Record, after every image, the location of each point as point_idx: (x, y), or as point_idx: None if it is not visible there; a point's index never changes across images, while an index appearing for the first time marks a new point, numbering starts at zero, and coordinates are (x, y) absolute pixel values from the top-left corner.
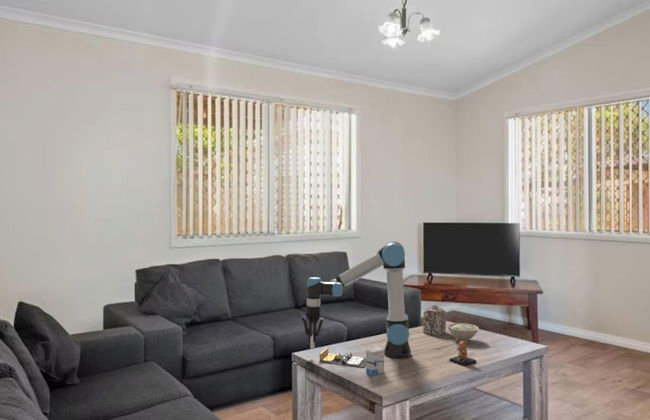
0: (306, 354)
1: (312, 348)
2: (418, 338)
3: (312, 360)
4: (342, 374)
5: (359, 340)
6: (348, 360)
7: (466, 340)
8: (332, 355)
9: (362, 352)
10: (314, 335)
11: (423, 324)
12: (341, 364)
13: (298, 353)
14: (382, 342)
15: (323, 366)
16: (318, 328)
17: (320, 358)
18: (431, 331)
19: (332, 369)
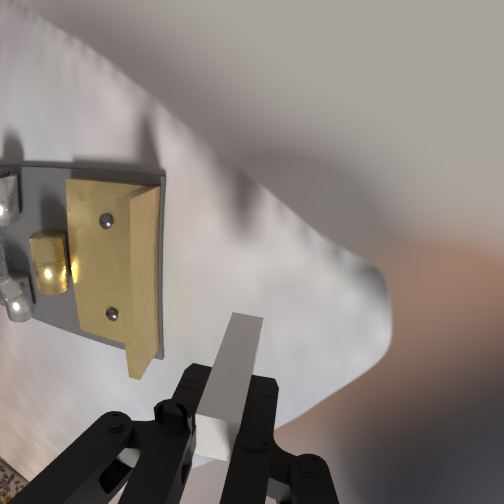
0: (318, 340)
1: (236, 313)
2: (13, 459)
3: (233, 206)
4: (7, 21)
5: (122, 489)
6: (15, 250)
7: None
8: (101, 305)
9: (36, 382)
10: (164, 428)
11: None
12: (21, 166)
13: (382, 348)
14: (52, 459)
15: (110, 87)
16: (46, 500)
17: (143, 189)
18: (11, 475)
19: (51, 60)
